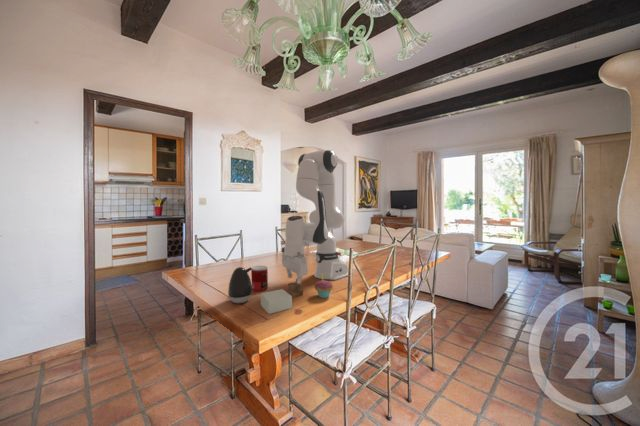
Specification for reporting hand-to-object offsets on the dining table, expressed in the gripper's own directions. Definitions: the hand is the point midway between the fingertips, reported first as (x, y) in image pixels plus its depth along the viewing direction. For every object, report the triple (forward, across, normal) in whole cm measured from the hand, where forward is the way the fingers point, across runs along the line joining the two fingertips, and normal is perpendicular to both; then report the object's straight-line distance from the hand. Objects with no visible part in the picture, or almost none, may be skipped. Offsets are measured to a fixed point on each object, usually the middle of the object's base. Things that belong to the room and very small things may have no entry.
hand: (294, 280), depth 119 cm
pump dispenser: (+8, +6, +23) cm, 25 cm away
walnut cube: (+7, 0, -1) cm, 7 cm away
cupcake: (+7, -9, -11) cm, 16 cm away
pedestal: (+7, -8, +12) cm, 16 cm away
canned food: (+8, +16, +11) cm, 21 cm away
